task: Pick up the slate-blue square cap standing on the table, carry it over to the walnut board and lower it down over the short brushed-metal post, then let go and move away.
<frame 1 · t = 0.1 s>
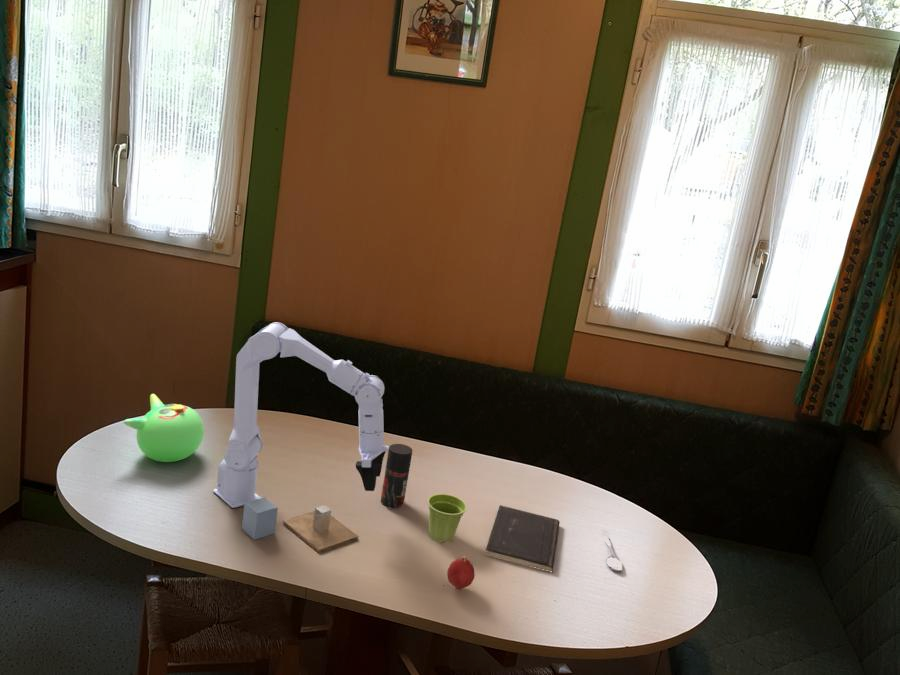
hand: (372, 482, 176), 11 cm above the table, tool pointing down, fingers open, 7 cm apart
spoon: (609, 553, 186), on the table
plant pot: (441, 536, 179), on the table
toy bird: (167, 457, 194), on the table
post: (320, 531, 172), on the table
cap: (258, 531, 168), on the table
hardcover book: (523, 542, 184), on the table
deodorant: (391, 503, 191), on the table
onion: (457, 589, 160), on the table
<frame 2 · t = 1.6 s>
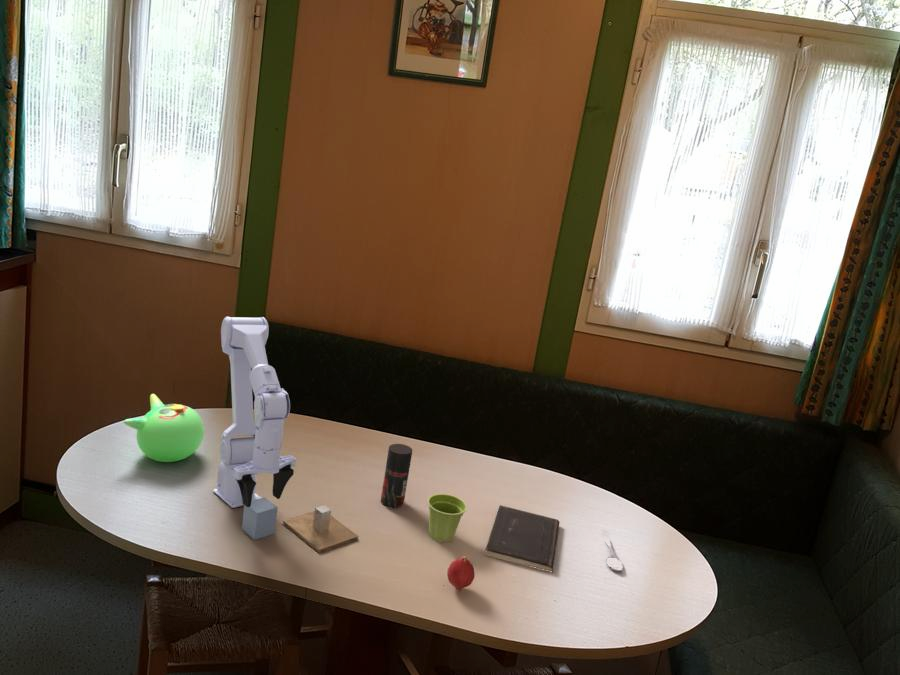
hand: (261, 500, 166), 8 cm above the table, tool pointing down, fingers open, 7 cm apart
nothing on the table moved.
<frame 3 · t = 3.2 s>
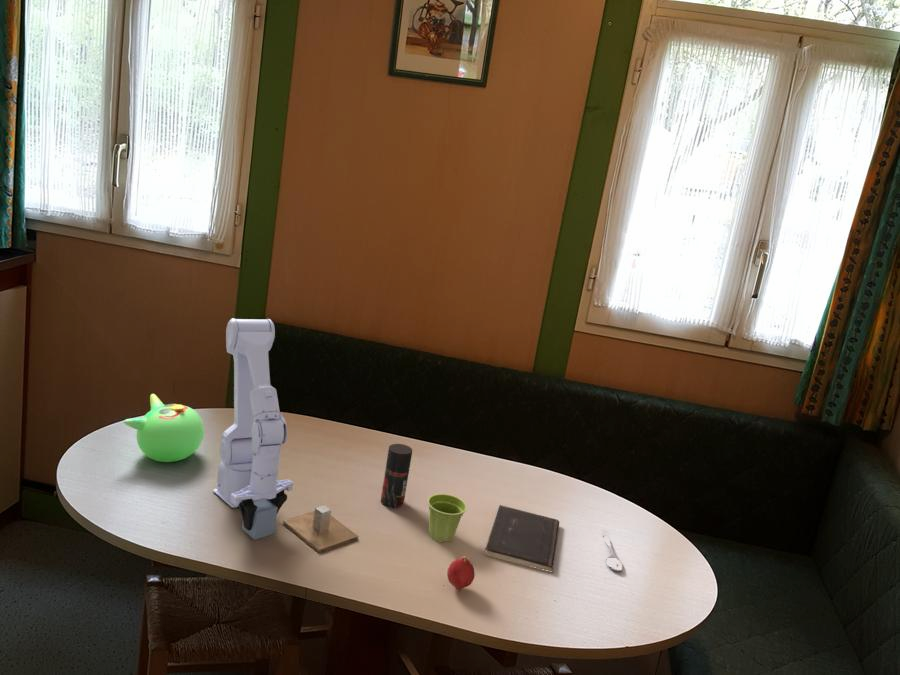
hand: (258, 524, 168), 2 cm above the table, tool pointing down, fingers closed on cap, 5 cm apart
cap: (258, 531, 168), on the table, touching gripper
everything else where it was.
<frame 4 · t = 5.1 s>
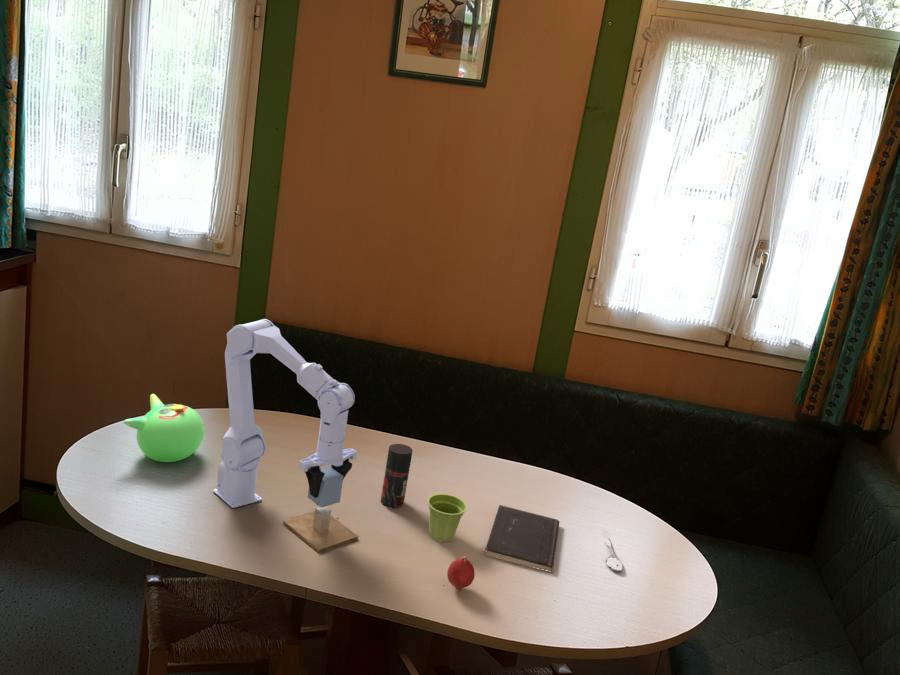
hand: (324, 492, 169), 10 cm above the table, tool pointing down, fingers closed on cap, 5 cm apart
cap: (323, 499, 170), point 8 cm above the table, touching gripper
everything else where it was.
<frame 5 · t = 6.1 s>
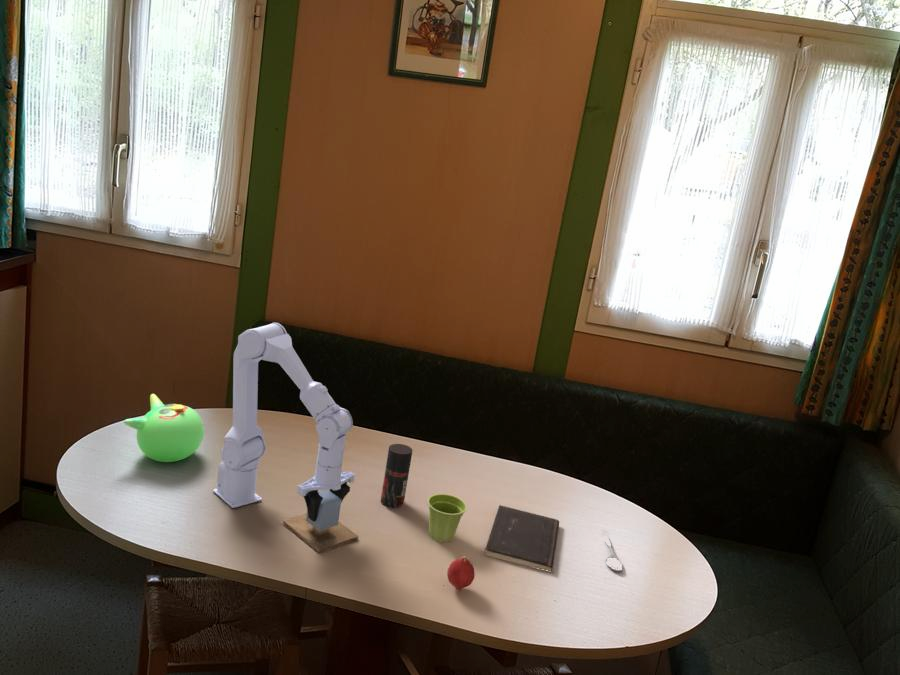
hand: (322, 515, 171), 4 cm above the table, tool pointing down, fingers closed on cap, 5 cm apart
cap: (321, 522, 171), point 2 cm above the table, touching gripper
everything else where it was.
when the fingers open (4 cm above the table, at t = 7.0 s): cap drops 1 cm, resting on post.
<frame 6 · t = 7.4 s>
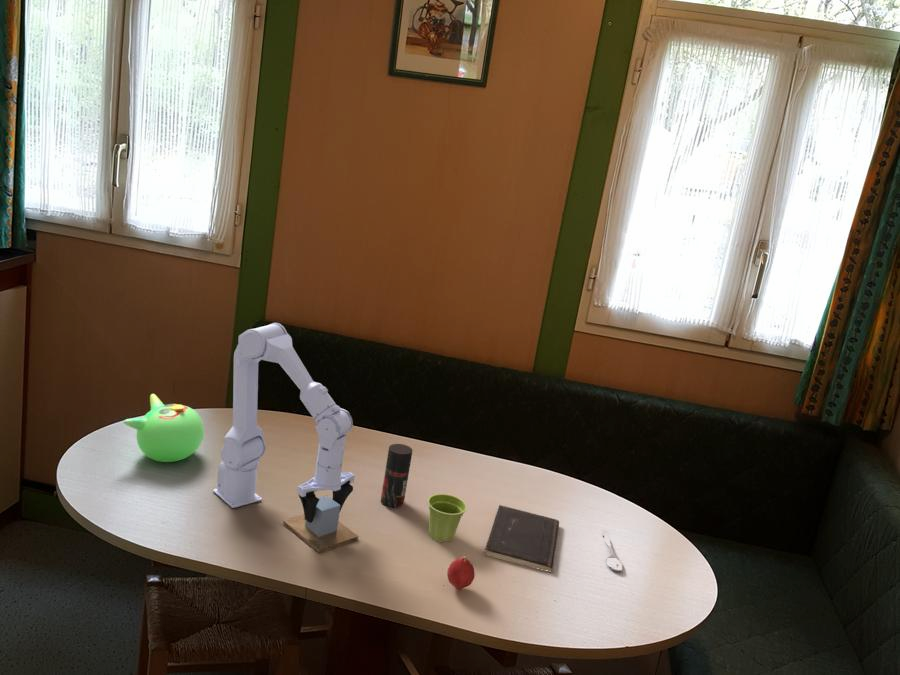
hand: (322, 516, 171), 4 cm above the table, tool pointing down, fingers open, 7 cm apart
cap: (320, 528, 172), point 1 cm above the table, touching post
everything else where it was.
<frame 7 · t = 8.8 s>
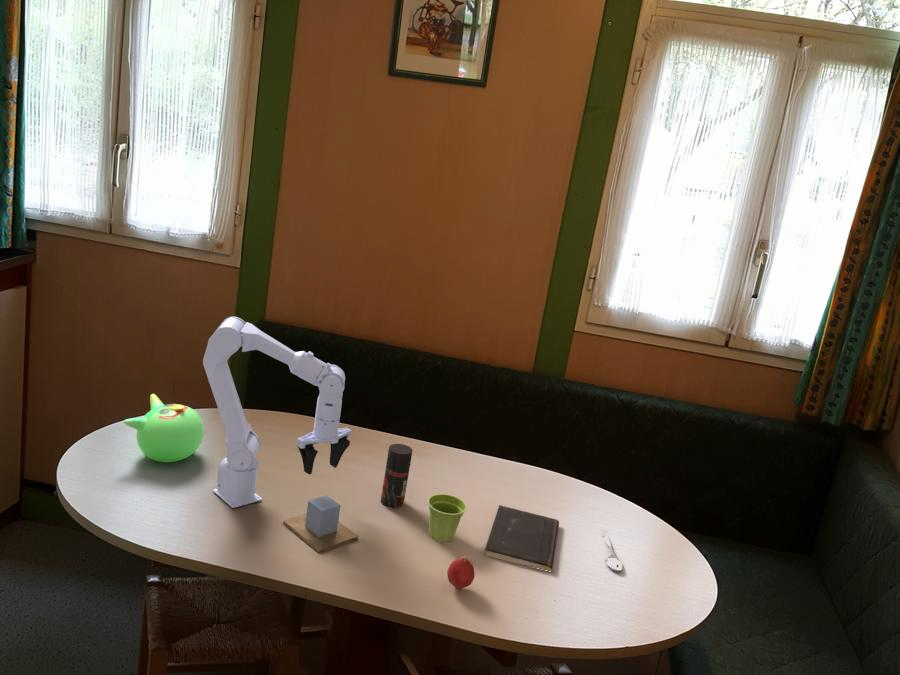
hand: (320, 469, 180), 10 cm above the table, tool pointing down, fingers open, 7 cm apart
nothing on the table moved.
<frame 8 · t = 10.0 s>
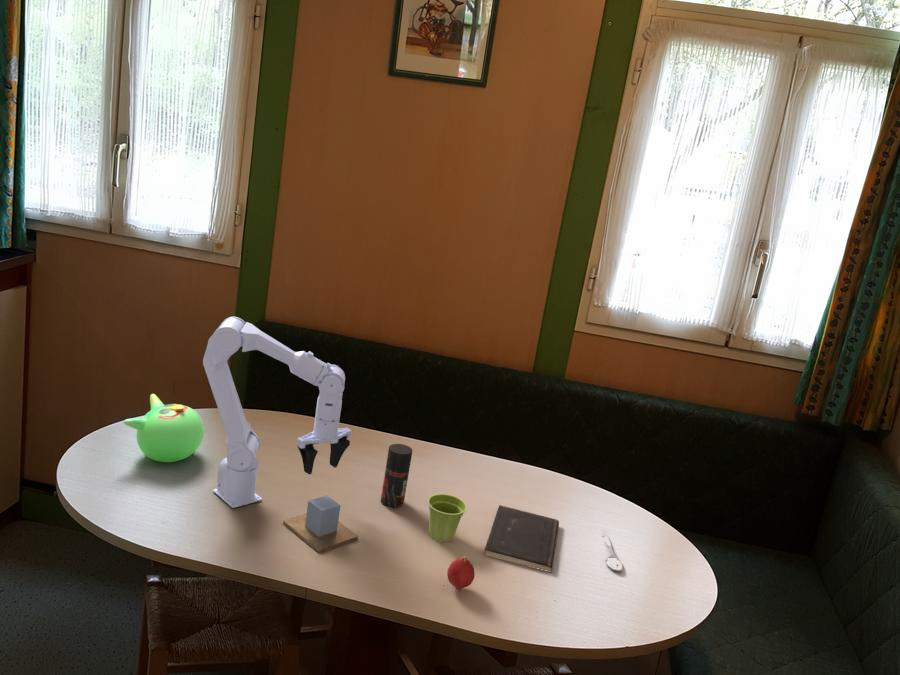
hand: (320, 469, 180), 10 cm above the table, tool pointing down, fingers open, 7 cm apart
nothing on the table moved.
at the end: cap 0.1 cm from the post (horizontally); cap point 0.8 cm above the table; cap tilted 0° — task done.
